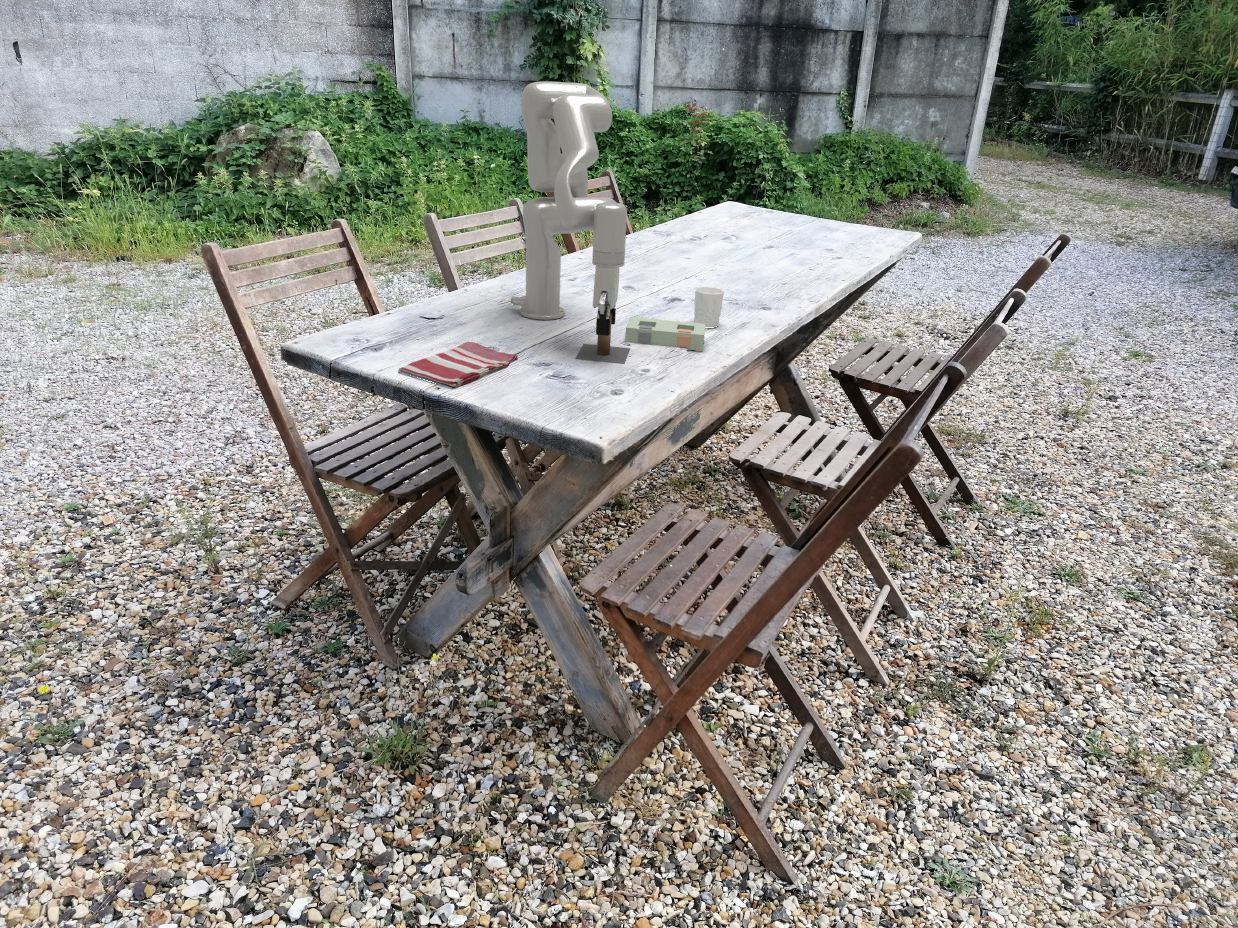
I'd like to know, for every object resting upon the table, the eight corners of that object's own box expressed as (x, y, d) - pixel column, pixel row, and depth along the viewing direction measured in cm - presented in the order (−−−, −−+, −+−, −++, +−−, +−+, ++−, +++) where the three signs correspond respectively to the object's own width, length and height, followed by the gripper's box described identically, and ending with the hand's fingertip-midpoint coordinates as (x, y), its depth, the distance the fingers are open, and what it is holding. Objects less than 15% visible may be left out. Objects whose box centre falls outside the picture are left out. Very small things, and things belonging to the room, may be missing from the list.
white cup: (697, 330, 230) (701, 294, 226) (688, 321, 237) (691, 286, 233) (724, 329, 232) (728, 294, 228) (713, 321, 239) (717, 286, 235)
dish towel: (520, 364, 199) (520, 353, 198) (453, 392, 181) (453, 380, 180) (466, 349, 207) (465, 338, 206) (396, 374, 189) (396, 363, 187)
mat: (574, 362, 201) (575, 359, 201) (583, 346, 212) (583, 343, 211) (624, 367, 200) (624, 363, 200) (630, 351, 211) (630, 348, 210)
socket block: (624, 344, 215) (625, 326, 213) (629, 333, 224) (630, 315, 222) (702, 352, 213) (704, 334, 211) (703, 340, 222) (705, 322, 220)
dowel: (595, 355, 204) (597, 315, 200) (597, 350, 207) (599, 311, 203) (608, 356, 204) (610, 316, 199) (610, 352, 207) (612, 312, 202)
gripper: (598, 250, 203) (595, 318, 210) (586, 264, 188) (584, 338, 195) (629, 252, 202) (625, 321, 210) (619, 266, 187) (616, 340, 194)
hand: (605, 329), depth 202 cm, fingers open, 9 cm apart
